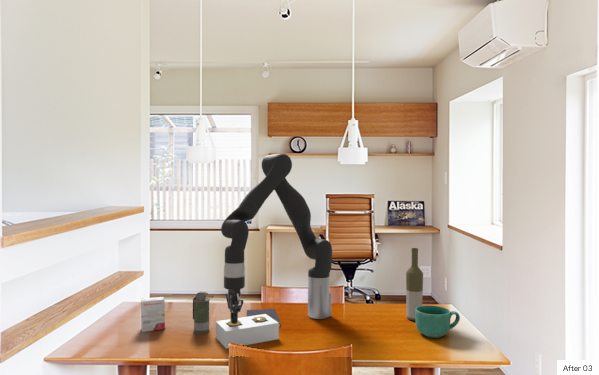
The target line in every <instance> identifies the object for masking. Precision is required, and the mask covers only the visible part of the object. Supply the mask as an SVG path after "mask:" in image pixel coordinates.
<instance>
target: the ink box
mask: <svg viewBox="0 0 599 375" xmlns="http://www.w3.org/2000/svg"><path fill="white" fill-rule="evenodd" d="M140 304H141V305H140V311H141V312H140V314H141V316H140V318H141V319H140V320H141V322H140V323H141V333H145V332H153V331H161V330H165V329H166V322H165V320H166V316H165V314H166V313H165V312H166V311H165V310H166V309H165V308H166V306H165V305H166V304H165V297H164V296H159V297H158V296H157V297H145V298H141V301H140Z"/></svg>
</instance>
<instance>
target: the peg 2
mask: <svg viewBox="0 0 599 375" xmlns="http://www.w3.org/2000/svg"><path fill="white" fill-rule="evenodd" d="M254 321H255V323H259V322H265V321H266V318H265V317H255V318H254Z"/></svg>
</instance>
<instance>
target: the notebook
mask: <svg viewBox="0 0 599 375" xmlns="http://www.w3.org/2000/svg"><path fill="white" fill-rule="evenodd" d="M261 314H267V315H268V316H270V317H271V318H272V319H274V320H275V321H277V322H278V323H279V327H281V322H280V318H279V316H278V312H277V310H276V308H265V309H264V308H262V309H261V308H259V309H246V317H248V316H255V315H261Z"/></svg>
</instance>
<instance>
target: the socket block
mask: <svg viewBox="0 0 599 375" xmlns="http://www.w3.org/2000/svg"><path fill="white" fill-rule="evenodd" d="M255 317H265V318H266V321H265V322H259V323H255V321H254V318H255ZM229 321H231V318H228V319H223V320H216V321H215V339H217V341H218V342H219V343H220V344H221V345H222V347H224V348H225V349H229V348H228V344H229V343H236V344H242V345H244V346H247V345H254V344H258V343H259V344H260V343H264V342H266V343H267V342H271V341H276V340H280V337H279V336H280V332H279V331H280V329H279V328H280V326H279V323H278V322H277V321H275V320H274V319H272V318H271V317H270V316H268V315H267V314H261V315H255V316H248V317H247V316H243V317H238V321H240V322H241V324H240V325H239V326H234V327H229V325H228V322H229Z"/></svg>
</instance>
